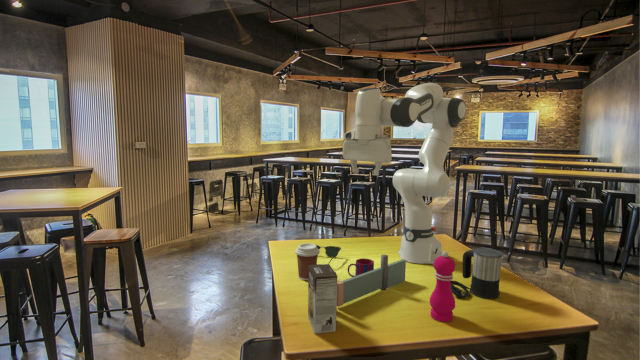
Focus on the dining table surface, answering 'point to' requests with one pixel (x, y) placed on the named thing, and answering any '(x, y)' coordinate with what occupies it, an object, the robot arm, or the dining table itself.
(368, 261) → the mug
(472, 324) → the dining table surface
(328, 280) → the coffee box
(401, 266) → the fence
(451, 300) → the pepper mill
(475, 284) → the milk frother
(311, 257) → the coffee cup
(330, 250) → the sunglasses
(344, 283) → the grey-green hurdle bar
